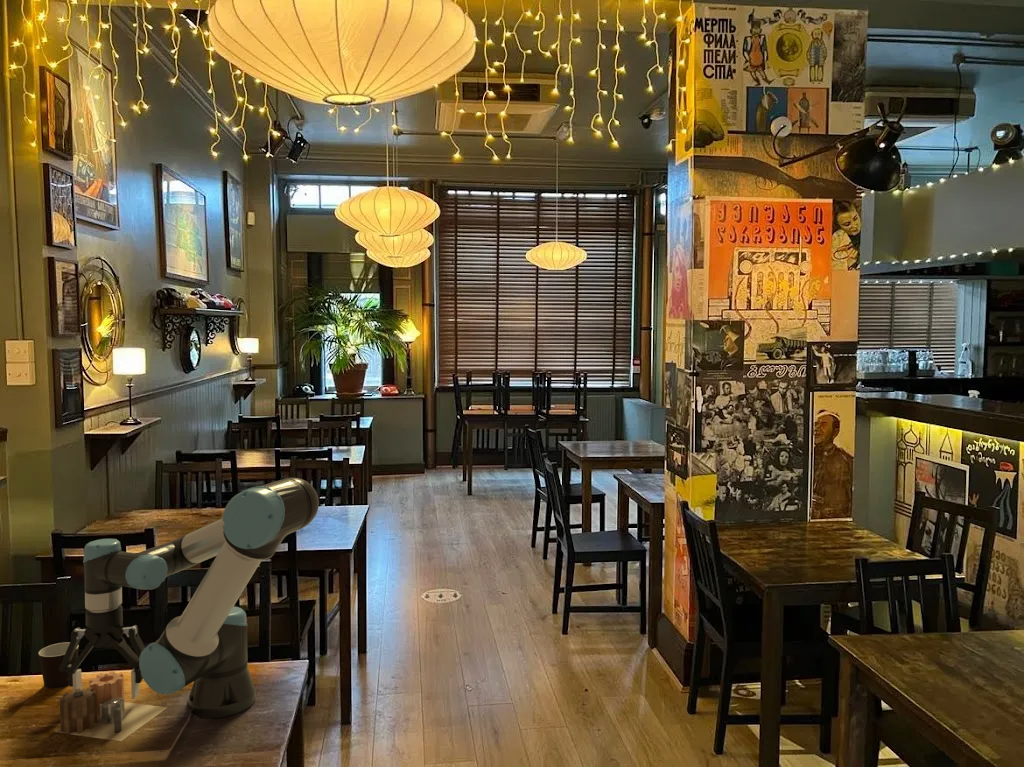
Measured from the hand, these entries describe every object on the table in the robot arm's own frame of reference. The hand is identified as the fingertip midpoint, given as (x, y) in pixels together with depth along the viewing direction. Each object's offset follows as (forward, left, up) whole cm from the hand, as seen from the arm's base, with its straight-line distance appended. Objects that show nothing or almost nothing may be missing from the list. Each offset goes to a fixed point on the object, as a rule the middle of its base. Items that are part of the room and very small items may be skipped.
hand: (106, 697), depth 176 cm
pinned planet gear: (0, +8, -2) cm, 9 cm away
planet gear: (0, 0, -2) cm, 2 cm away
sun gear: (-5, +4, -2) cm, 7 cm away
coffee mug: (+21, -10, -4) cm, 24 cm away
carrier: (-5, +4, -4) cm, 8 cm away
